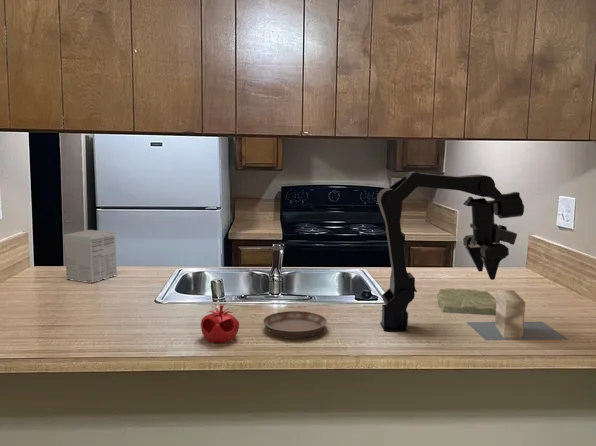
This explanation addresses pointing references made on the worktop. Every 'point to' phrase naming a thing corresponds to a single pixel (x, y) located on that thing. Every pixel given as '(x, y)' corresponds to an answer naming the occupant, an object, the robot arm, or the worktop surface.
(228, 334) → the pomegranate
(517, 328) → the maple block
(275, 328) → the plant saucer
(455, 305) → the decorative tile
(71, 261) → the supplement box
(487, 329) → the rubber mat
